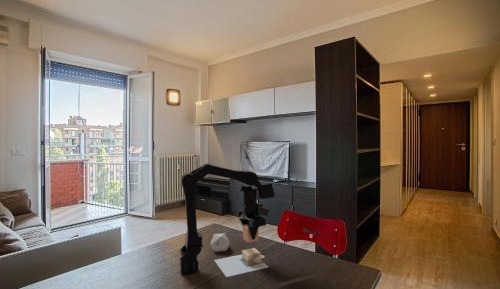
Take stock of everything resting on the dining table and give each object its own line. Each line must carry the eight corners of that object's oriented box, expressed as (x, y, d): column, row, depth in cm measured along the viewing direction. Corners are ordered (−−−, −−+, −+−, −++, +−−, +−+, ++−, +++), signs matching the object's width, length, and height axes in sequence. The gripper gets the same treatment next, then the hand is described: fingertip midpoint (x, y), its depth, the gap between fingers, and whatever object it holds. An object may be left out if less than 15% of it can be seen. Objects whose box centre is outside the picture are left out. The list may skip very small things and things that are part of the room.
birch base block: (247, 265, 108) (247, 255, 108) (242, 259, 114) (241, 250, 114) (260, 262, 111) (260, 253, 111) (254, 256, 116) (254, 247, 116)
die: (206, 252, 126) (207, 240, 120) (216, 238, 133) (217, 225, 127) (222, 260, 124) (224, 248, 118) (231, 245, 131) (233, 233, 125)
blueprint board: (226, 279, 99) (226, 276, 99) (214, 262, 114) (214, 260, 114) (268, 269, 107) (268, 267, 107) (251, 254, 121) (251, 252, 121)
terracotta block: (247, 242, 109) (247, 228, 109) (243, 238, 114) (242, 224, 114) (258, 240, 111) (258, 226, 111) (253, 236, 116) (253, 223, 116)
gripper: (277, 202, 107) (278, 241, 107) (257, 195, 124) (258, 228, 124) (252, 206, 102) (253, 246, 103) (235, 197, 119) (235, 231, 120)
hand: (250, 237), depth 112 cm, fingers closed on terracotta block, 5 cm apart
